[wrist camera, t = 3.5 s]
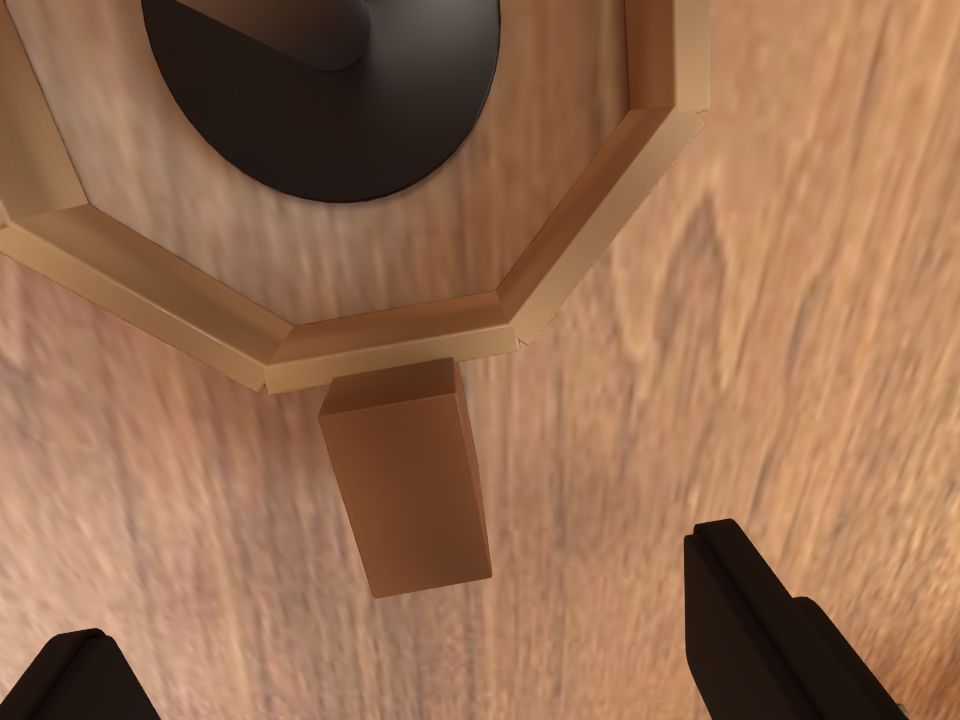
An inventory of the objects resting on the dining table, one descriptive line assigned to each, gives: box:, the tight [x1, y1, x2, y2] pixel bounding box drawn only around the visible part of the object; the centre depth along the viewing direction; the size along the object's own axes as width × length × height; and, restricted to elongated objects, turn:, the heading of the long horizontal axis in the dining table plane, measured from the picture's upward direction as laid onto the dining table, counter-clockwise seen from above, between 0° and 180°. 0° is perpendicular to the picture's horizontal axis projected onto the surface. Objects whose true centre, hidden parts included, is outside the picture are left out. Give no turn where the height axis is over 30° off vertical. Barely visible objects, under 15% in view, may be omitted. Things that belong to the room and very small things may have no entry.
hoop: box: [0, 0, 710, 599], centre depth 12 cm, size 16×21×5 cm
